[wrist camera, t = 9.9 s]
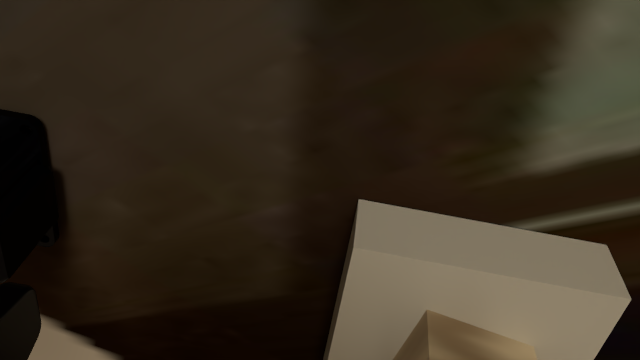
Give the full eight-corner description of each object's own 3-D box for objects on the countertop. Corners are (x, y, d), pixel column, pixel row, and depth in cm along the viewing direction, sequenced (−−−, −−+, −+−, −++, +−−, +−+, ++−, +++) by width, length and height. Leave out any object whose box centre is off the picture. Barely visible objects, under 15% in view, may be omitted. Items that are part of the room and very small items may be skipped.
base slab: (323, 359, 29) (315, 413, 26) (358, 199, 23) (353, 247, 21) (522, 397, 29) (533, 454, 26) (606, 244, 23) (631, 299, 21)
